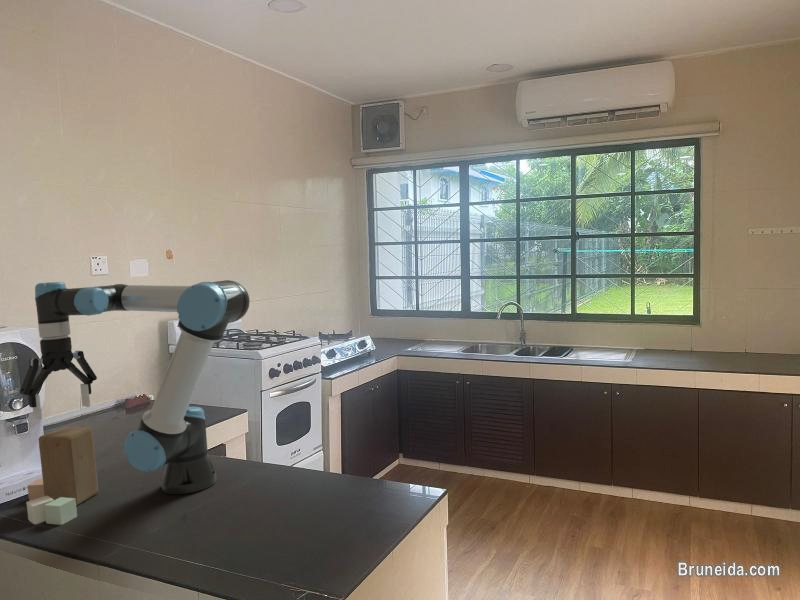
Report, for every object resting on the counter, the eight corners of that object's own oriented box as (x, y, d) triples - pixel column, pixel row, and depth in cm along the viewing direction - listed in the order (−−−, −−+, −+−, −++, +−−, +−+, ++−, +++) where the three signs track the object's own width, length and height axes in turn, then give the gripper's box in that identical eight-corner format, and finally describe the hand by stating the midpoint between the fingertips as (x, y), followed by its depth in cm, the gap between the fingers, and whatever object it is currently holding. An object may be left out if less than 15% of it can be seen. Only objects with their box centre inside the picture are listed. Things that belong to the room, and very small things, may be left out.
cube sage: (77, 516, 159) (75, 498, 159) (61, 525, 154) (59, 506, 154) (62, 515, 160) (60, 497, 160) (46, 523, 156) (44, 504, 155)
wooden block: (75, 507, 165) (67, 436, 163) (44, 507, 167) (36, 436, 165) (100, 493, 175) (93, 426, 173) (70, 492, 177) (63, 426, 175)
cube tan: (57, 494, 176) (55, 478, 176) (46, 501, 171) (44, 484, 171) (40, 495, 176) (38, 478, 176) (29, 502, 171) (27, 485, 171)
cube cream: (55, 517, 159) (53, 499, 159) (34, 525, 155) (32, 506, 155) (49, 513, 162) (47, 495, 162) (28, 520, 159) (26, 501, 158)
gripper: (90, 331, 180) (97, 400, 181) (-1, 343, 159) (8, 422, 160) (105, 331, 176) (112, 402, 177) (14, 344, 155) (22, 425, 156)
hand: (62, 412), depth 169 cm, fingers open, 13 cm apart
